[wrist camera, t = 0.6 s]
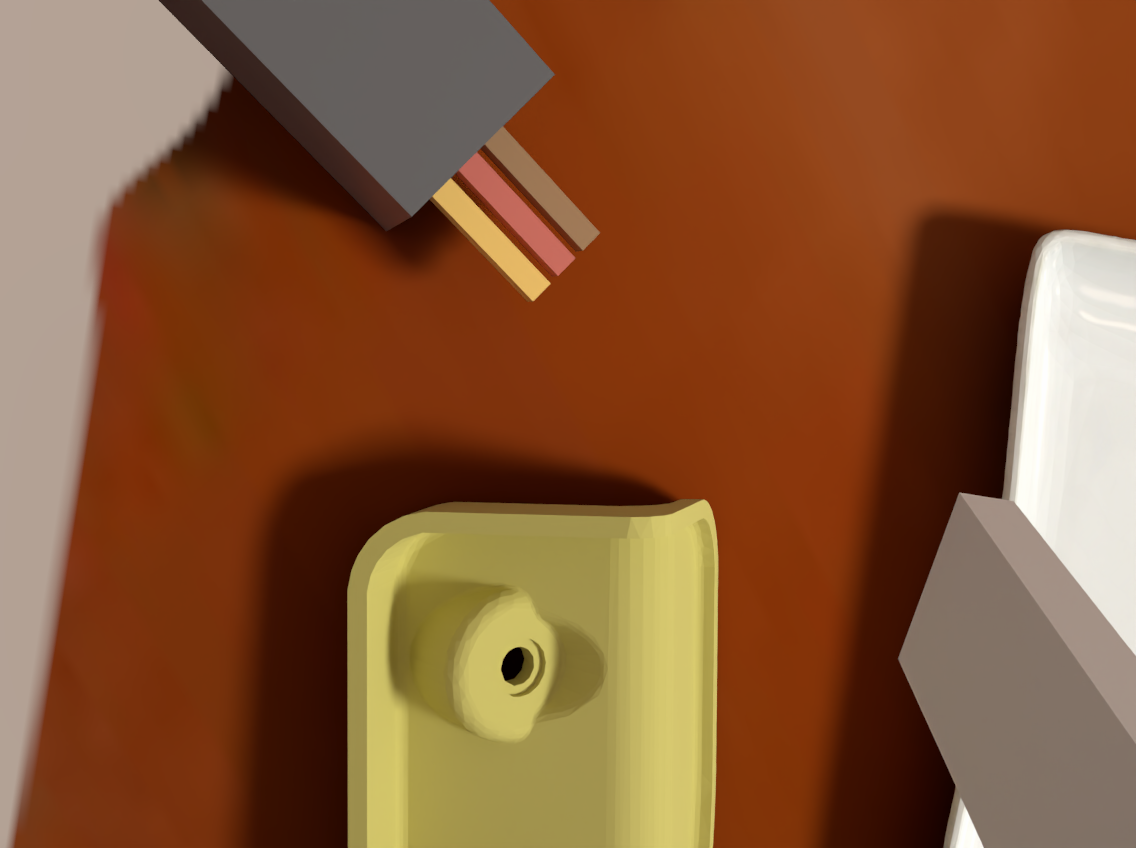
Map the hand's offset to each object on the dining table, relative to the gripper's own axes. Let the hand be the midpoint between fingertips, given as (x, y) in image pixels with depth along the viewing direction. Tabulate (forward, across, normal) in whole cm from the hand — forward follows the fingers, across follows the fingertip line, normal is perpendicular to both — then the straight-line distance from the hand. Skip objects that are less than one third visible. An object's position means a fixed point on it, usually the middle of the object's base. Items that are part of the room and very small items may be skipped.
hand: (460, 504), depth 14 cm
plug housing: (+20, +5, -2) cm, 20 cm away
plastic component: (+15, -3, +18) cm, 23 cm away
